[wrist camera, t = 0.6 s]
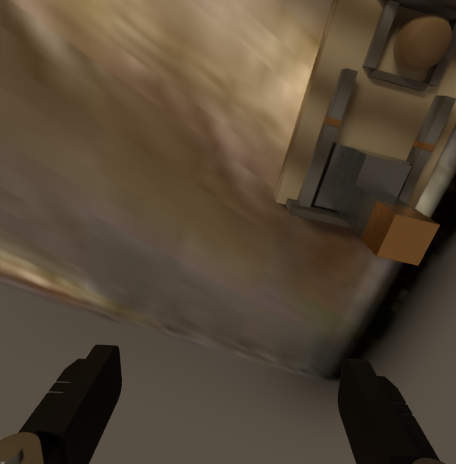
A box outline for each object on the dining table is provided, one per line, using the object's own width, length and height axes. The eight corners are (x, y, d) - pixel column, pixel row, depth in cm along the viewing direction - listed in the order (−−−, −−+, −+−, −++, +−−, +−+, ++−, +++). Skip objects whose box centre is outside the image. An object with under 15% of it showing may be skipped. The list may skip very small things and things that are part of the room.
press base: (350, -55, 27) (388, -100, 21) (503, -7, 28) (584, -35, 22) (273, 196, 36) (283, 220, 29) (394, 224, 37) (429, 253, 30)
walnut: (397, 13, 27) (423, 1, 24) (441, 26, 28) (474, 16, 24) (377, 65, 29) (399, 62, 25) (419, 77, 29) (447, 75, 25)
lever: (332, 142, 31) (384, 168, 21) (403, 160, 32) (488, 193, 21) (311, 201, 33) (349, 251, 23) (378, 217, 34) (443, 272, 24)
